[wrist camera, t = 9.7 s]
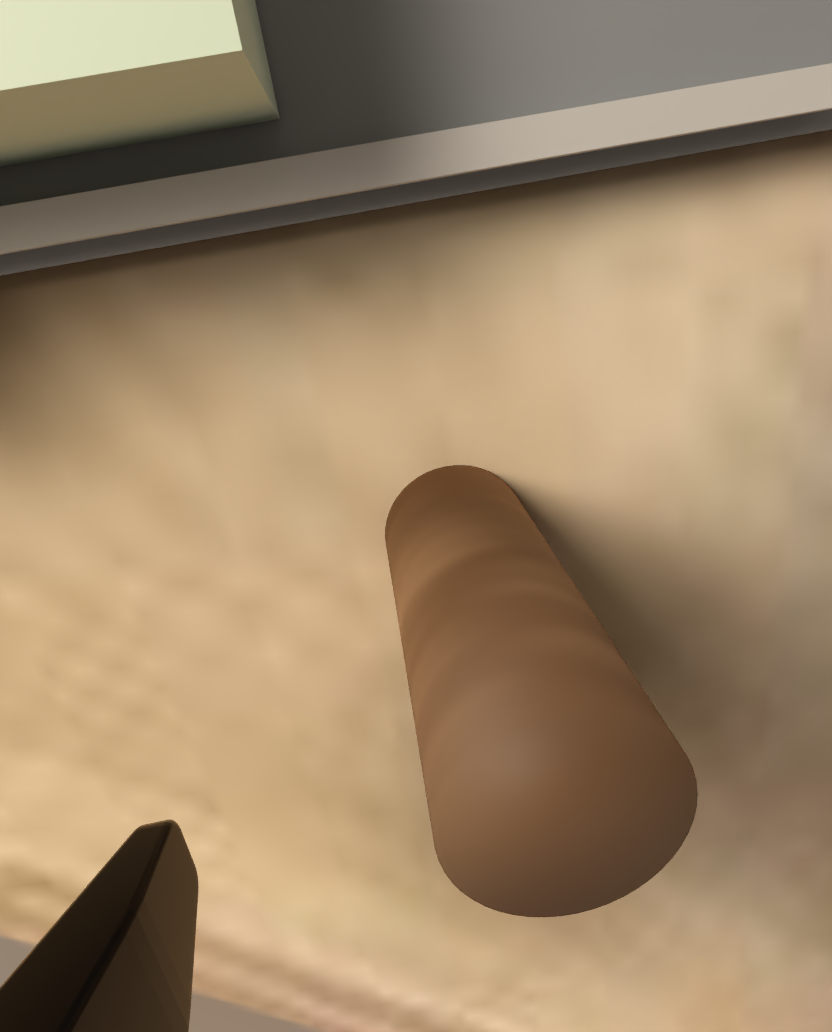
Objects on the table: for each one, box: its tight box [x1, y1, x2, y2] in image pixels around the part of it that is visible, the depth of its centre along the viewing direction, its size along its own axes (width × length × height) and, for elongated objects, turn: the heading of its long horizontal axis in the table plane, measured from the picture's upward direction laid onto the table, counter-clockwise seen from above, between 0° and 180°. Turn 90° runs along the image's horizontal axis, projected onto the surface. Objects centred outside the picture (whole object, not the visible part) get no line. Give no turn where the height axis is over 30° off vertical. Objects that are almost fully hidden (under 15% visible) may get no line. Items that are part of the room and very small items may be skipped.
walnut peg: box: [385, 465, 697, 917], centre depth 12 cm, size 3×3×8 cm
